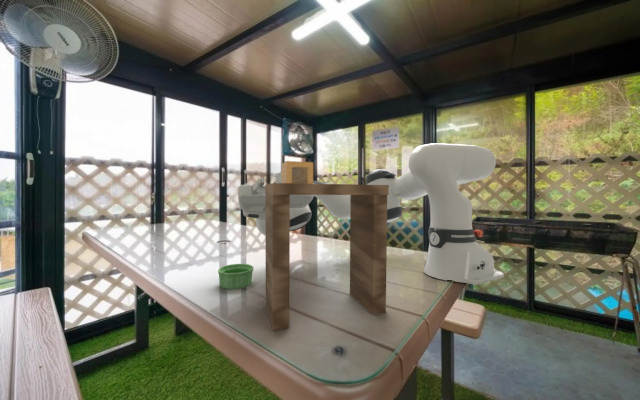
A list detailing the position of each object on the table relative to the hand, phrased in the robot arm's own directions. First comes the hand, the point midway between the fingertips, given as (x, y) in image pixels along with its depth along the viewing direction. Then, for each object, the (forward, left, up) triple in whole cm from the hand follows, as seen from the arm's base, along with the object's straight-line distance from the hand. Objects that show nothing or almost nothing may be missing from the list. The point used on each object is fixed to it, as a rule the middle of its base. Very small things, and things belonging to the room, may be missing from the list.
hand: (280, 180), depth 64 cm
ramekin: (+11, -7, -28) cm, 30 cm away
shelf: (-7, +14, -27) cm, 31 cm away
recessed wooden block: (0, +9, -1) cm, 9 cm away
